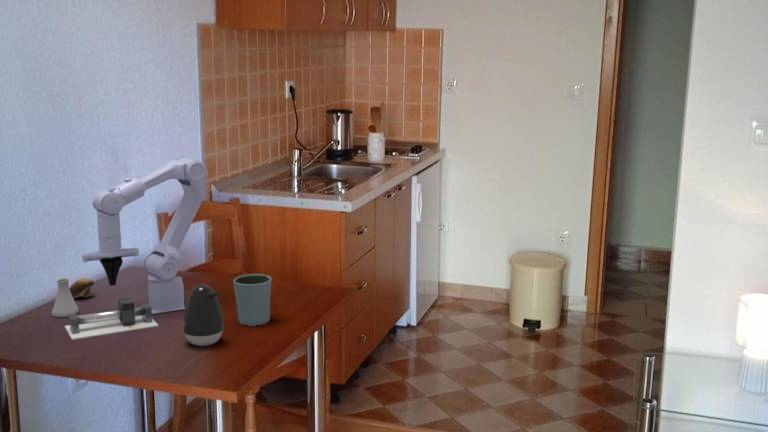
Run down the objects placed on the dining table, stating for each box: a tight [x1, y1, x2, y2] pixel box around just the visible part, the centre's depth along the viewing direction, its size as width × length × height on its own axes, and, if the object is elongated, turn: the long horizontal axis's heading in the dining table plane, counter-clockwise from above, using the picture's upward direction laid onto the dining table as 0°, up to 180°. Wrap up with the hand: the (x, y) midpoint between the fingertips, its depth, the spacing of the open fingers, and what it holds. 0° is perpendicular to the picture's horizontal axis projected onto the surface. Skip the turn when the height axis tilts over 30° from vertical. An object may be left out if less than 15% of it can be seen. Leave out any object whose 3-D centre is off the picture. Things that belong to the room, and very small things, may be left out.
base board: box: [64, 316, 159, 341], centre depth 222 cm, size 22×11×1 cm, turn 120°
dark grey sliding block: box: [117, 297, 135, 325], centre depth 224 cm, size 3×5×6 cm, turn 30°
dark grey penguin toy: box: [182, 284, 225, 347], centre depth 210 cm, size 10×10×15 cm
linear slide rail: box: [68, 303, 153, 334], centre depth 222 cm, size 20×4×4 cm, turn 120°
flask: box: [50, 277, 80, 318], centre depth 231 cm, size 7×7×10 cm
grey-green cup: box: [232, 273, 272, 327], centre depth 227 cm, size 10×10×12 cm
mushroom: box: [69, 278, 96, 299], centre depth 247 cm, size 8×8×6 cm
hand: (112, 284), depth 226 cm, fingers closed
